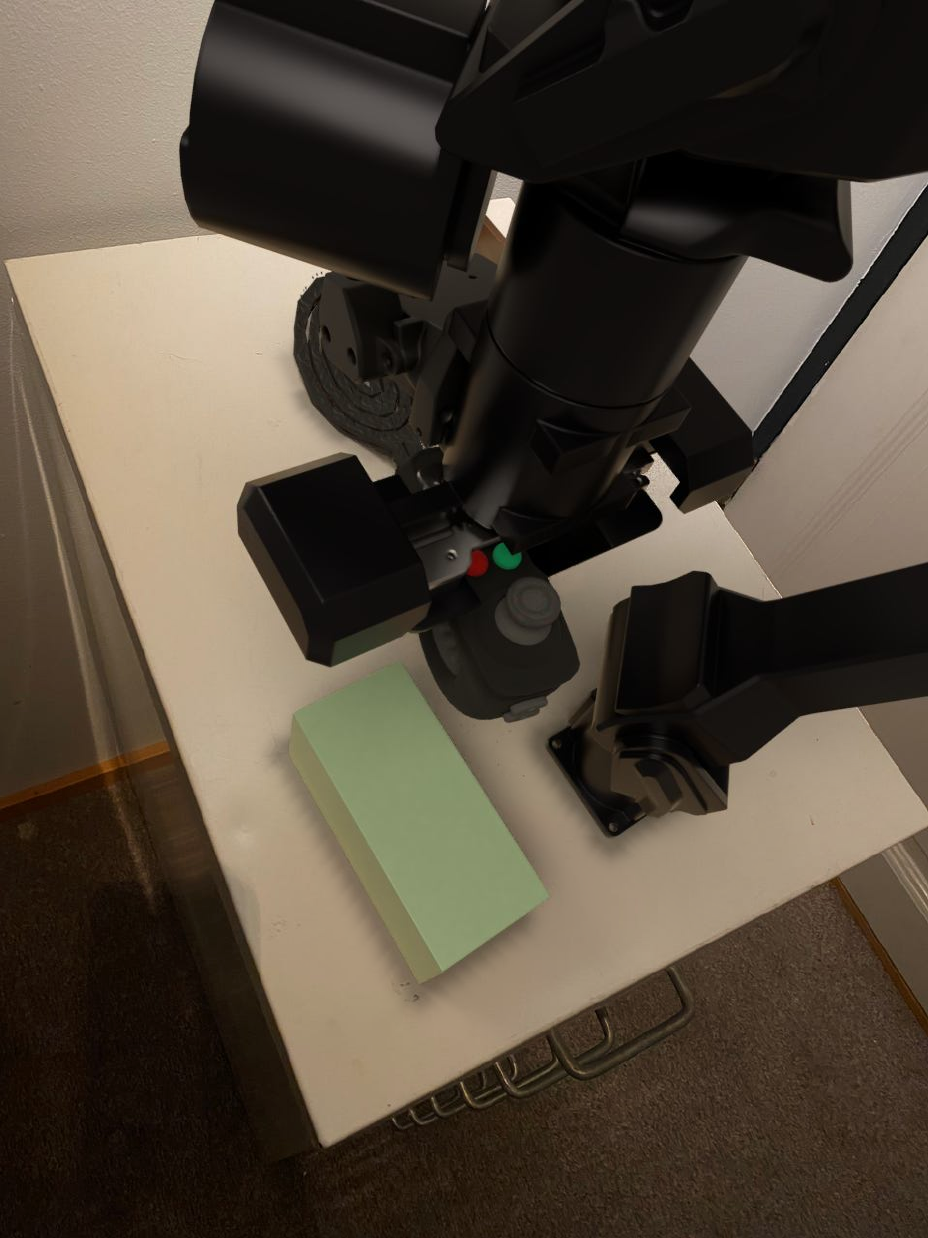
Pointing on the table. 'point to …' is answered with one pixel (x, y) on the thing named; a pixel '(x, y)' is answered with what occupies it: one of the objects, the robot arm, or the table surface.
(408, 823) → the mint green rectangular brick
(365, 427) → the hairbrush
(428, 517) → the robot arm
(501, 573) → the controller
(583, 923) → the table surface
